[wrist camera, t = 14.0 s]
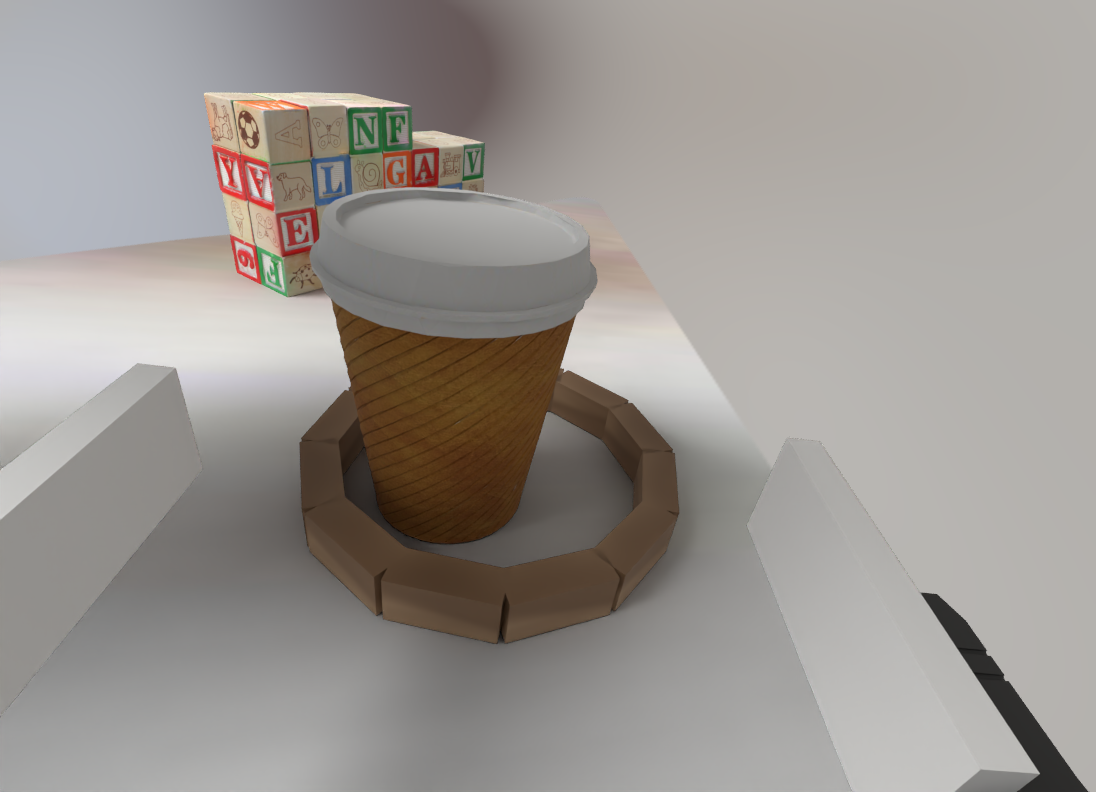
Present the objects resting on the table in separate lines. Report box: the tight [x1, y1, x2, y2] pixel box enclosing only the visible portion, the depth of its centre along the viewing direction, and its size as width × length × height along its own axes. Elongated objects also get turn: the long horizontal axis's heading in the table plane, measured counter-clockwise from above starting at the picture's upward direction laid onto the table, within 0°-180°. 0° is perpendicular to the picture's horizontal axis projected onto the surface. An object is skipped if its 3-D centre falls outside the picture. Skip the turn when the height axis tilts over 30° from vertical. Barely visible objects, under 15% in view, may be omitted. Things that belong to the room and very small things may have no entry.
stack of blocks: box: [204, 93, 485, 297], centre depth 45 cm, size 21×6×12 cm, turn 146°
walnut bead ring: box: [300, 368, 679, 644], centre depth 25 cm, size 16×16×2 cm
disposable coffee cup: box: [309, 187, 597, 544], centre depth 21 cm, size 10×10×12 cm
